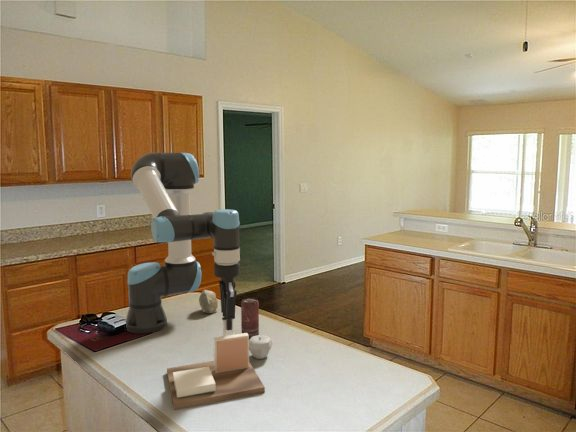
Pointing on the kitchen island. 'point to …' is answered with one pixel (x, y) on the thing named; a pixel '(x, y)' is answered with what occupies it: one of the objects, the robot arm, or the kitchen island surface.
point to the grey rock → (208, 301)
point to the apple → (260, 346)
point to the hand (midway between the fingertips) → (228, 338)
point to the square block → (193, 382)
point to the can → (250, 316)
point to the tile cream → (231, 352)
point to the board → (218, 385)
